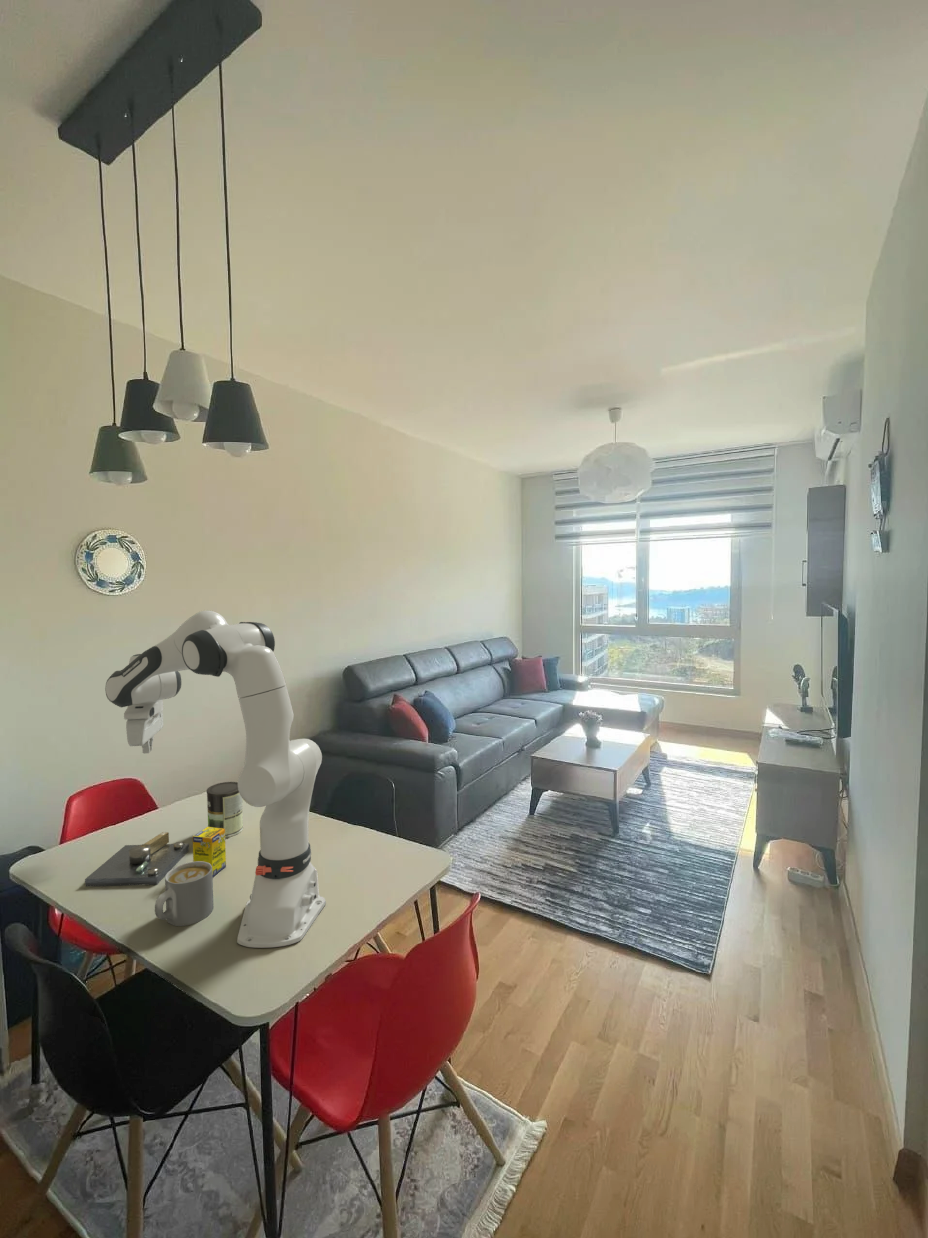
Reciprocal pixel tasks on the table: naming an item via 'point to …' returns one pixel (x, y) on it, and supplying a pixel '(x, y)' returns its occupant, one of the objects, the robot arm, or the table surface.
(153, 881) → the plate
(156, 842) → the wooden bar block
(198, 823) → the table surface
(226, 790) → the coffee can
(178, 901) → the coffee mug
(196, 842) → the supplement box
